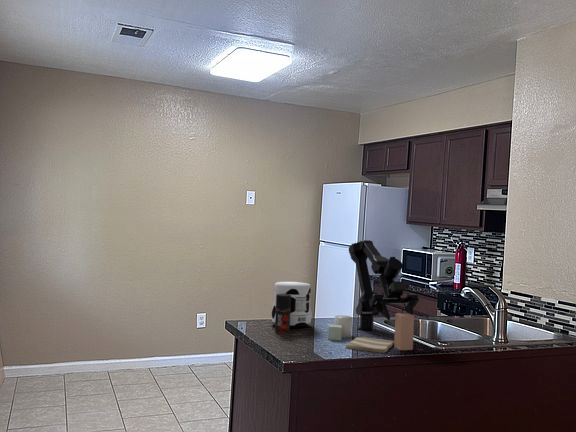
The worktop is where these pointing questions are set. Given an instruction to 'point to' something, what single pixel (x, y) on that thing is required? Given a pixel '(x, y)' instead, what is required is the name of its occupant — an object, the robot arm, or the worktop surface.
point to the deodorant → (282, 313)
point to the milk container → (295, 302)
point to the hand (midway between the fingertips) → (400, 319)
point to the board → (370, 344)
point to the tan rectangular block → (404, 331)
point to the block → (334, 332)
